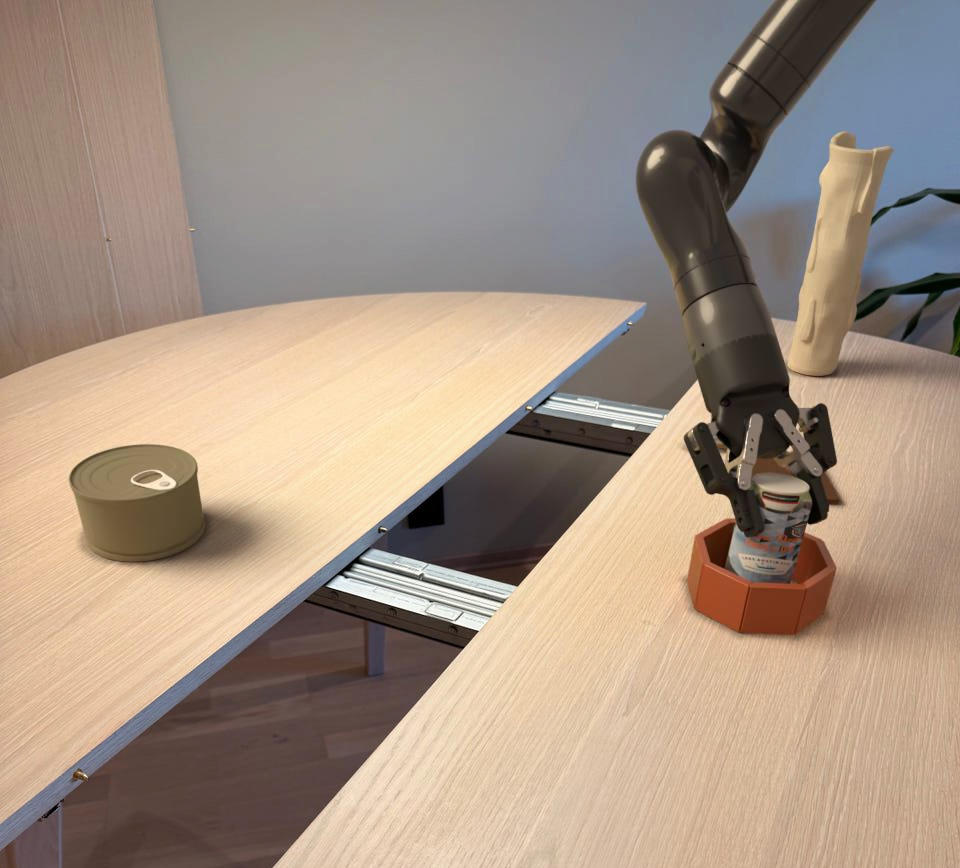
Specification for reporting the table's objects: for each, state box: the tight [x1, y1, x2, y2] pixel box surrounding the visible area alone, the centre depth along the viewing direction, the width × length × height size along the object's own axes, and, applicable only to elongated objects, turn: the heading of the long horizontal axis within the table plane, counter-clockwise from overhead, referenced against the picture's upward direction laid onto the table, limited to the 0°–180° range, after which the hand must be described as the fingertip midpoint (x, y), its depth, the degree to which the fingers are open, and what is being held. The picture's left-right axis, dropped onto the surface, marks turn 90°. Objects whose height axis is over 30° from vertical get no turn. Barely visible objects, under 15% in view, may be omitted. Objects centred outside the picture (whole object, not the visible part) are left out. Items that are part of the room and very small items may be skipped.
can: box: [68, 443, 206, 563], centre depth 97 cm, size 12×12×7 cm
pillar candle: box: [787, 130, 894, 377], centre depth 132 cm, size 9×8×30 cm
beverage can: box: [724, 473, 812, 584], centre depth 89 cm, size 6×7×12 cm
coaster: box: [751, 458, 841, 505], centre depth 111 cm, size 10×10×1 cm
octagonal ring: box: [686, 518, 838, 636], centre depth 91 cm, size 12×12×5 cm
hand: (787, 527), depth 86 cm, fingers closed on beverage can, 6 cm apart
